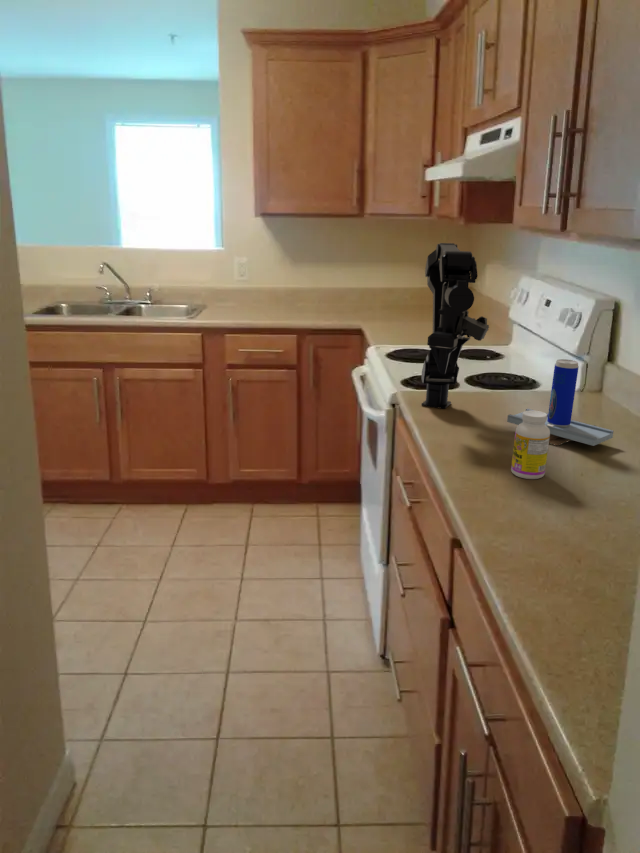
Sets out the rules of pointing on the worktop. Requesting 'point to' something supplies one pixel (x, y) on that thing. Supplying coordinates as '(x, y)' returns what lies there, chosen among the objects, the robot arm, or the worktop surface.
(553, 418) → the beverage can
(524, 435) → the supplement bottle
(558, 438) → the fulcrum
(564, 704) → the worktop surface
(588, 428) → the beam
